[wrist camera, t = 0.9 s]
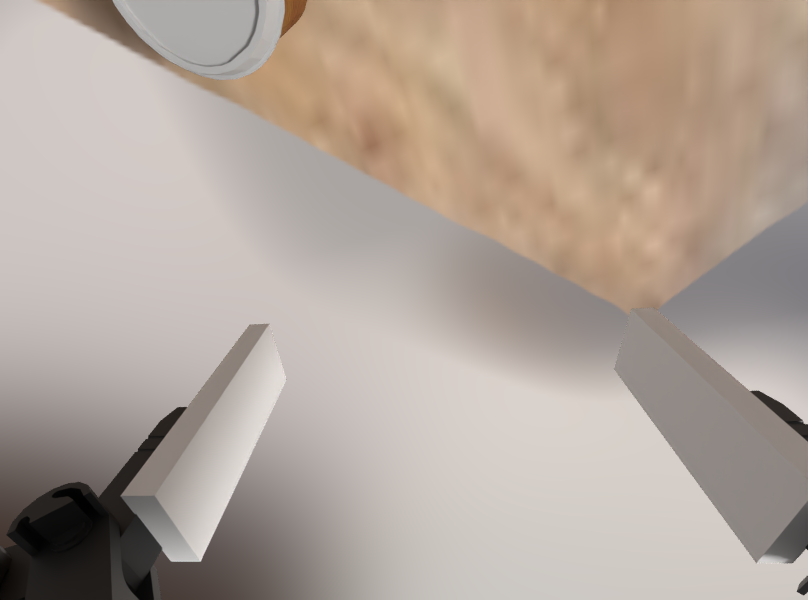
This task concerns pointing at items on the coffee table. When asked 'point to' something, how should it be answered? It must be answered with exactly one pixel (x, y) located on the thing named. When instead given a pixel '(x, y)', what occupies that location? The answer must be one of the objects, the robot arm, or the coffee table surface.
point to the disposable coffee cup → (212, 31)
